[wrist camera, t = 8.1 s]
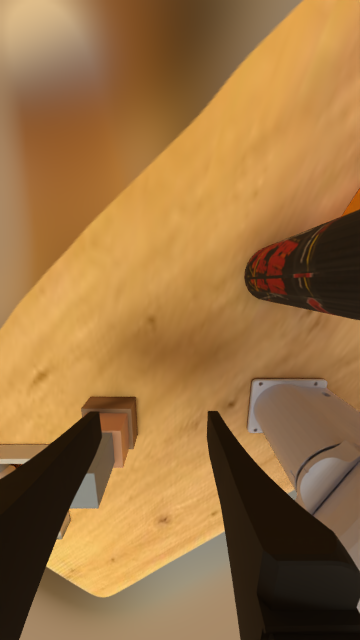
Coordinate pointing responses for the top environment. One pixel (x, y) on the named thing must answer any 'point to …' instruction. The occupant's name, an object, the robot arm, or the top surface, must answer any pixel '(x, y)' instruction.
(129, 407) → the walnut slab
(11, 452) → the grey tray rim
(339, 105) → the top surface
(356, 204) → the orange juice
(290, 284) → the deodorant
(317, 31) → the top surface
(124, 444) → the terracotta slab
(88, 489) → the slate cube
